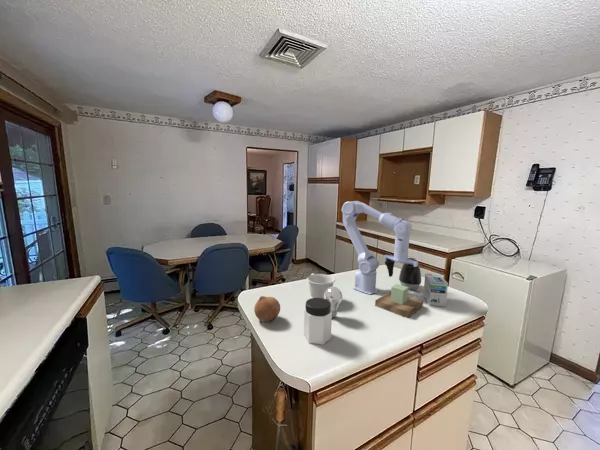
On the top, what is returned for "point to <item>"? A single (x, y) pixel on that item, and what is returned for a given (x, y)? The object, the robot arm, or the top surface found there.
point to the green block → (399, 294)
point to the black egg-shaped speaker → (414, 278)
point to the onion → (267, 309)
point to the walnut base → (399, 305)
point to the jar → (317, 320)
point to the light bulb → (333, 298)
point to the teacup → (319, 284)
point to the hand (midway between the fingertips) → (398, 278)
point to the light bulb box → (435, 290)
